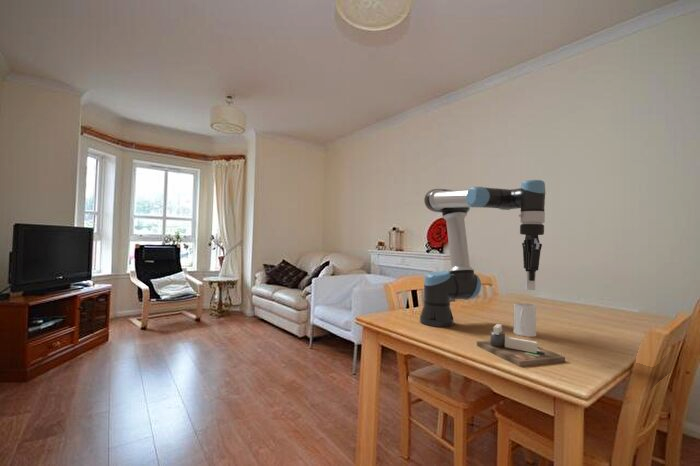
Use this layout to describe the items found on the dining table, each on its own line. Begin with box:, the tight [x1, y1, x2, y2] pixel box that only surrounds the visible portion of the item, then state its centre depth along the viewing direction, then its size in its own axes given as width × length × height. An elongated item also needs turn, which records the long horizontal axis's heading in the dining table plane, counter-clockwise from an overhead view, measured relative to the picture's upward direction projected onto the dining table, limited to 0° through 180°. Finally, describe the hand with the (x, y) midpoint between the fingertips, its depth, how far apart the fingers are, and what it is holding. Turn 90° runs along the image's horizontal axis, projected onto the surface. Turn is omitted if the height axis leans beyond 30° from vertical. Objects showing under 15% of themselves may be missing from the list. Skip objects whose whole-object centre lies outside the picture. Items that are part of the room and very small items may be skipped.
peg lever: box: [489, 323, 545, 355], centre depth 109 cm, size 16×6×7 cm, turn 54°
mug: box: [512, 302, 537, 338], centre depth 133 cm, size 12×8×12 cm
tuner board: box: [476, 339, 566, 367], centre depth 110 cm, size 20×18×2 cm
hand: (530, 289), depth 115 cm, fingers closed
